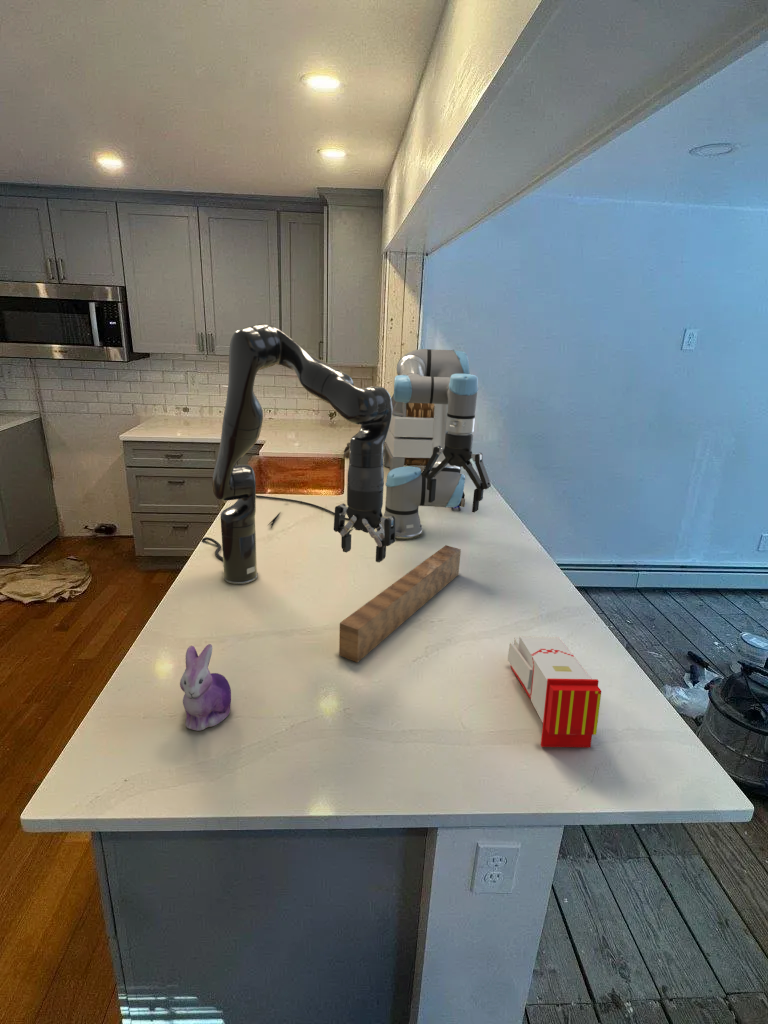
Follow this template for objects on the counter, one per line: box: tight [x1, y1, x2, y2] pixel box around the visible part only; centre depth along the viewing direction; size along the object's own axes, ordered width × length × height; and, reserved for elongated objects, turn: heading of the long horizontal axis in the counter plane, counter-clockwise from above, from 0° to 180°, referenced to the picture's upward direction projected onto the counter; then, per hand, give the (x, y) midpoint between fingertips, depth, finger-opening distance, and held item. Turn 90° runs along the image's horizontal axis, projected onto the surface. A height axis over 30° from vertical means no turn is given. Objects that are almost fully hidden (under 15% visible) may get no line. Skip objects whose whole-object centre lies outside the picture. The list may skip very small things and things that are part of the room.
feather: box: [266, 512, 281, 529], centre depth 211 cm, size 2×28×2 cm
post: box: [338, 544, 462, 663], centre depth 149 cm, size 55×5×8 cm, turn 149°
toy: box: [507, 635, 602, 748], centre depth 115 cm, size 12×13×30 cm
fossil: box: [343, 442, 350, 459], centre depth 304 cm, size 22×10×15 cm
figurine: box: [179, 643, 232, 732], centre depth 106 cm, size 9×10×15 cm
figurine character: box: [450, 490, 466, 511], centre depth 229 cm, size 7×8×15 cm
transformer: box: [383, 393, 462, 472], centre depth 268 cm, size 34×33×41 cm
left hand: (363, 556), depth 123 cm, fingers open, 8 cm apart
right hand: (452, 506), depth 161 cm, fingers open, 13 cm apart
